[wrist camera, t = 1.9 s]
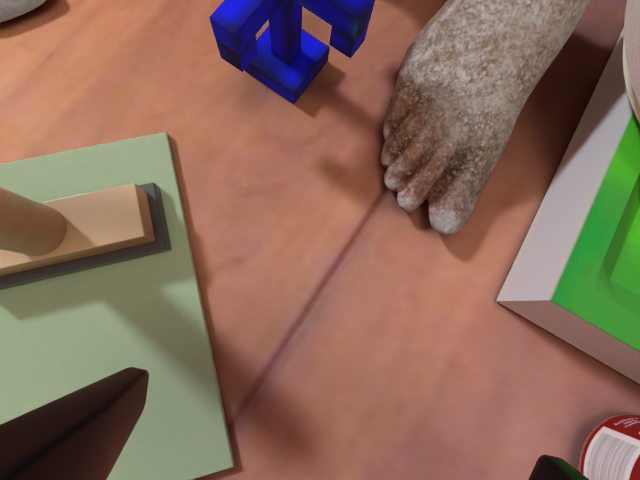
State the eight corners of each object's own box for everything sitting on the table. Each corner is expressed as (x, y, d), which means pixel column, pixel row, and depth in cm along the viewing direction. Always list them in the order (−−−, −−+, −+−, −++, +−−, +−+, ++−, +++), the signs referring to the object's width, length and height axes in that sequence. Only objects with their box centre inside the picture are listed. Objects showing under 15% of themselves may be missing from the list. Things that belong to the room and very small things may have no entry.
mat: (234, 463, 20) (233, 467, 20) (-15, 538, 19) (-23, 545, 18) (168, 134, 23) (166, 131, 23) (-52, 177, 22) (-60, 174, 21)
